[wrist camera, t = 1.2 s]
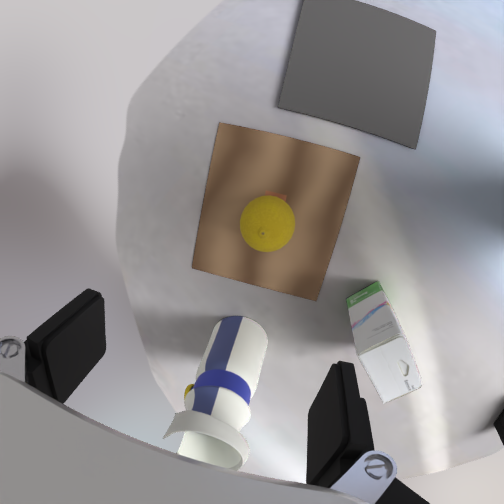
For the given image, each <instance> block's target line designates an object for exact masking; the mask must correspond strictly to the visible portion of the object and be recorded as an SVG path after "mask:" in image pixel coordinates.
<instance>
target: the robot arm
mask: <svg viewBox="0 0 504 504" xmlns="http://www.w3.org/2000/svg"><path fill="white" fill-rule="evenodd" d="M105 351H106V336H105V311H104V298H103V297H102V295H101V293H100V292H97V291H94V290H91V289H86V290H85V291H83V292H82V293H81V294H80V295H78V296H77V297H76V298H74V299H73V300H72V301H71V302H69V303H68V304H67V305H65V306H64V307H63V308H62V309H60V310H59V311H58V312H57V313H55V314H54V315H53V316H52V317H51V318H49V319H48V320H47V321H46V322H44V323H43V324H42V325H41V326H39V327H38V328H37V329H36V330H35V331H33V332H32V333H31V334H30V335H29V336H27V340H26V341H25V342H23V341H22V340H21V339H19V338H17V337H15V336H6V337H3V338H0V504H430V503H429V502H427V501H426V500H424V499H423V498H421V497H420V496H419V495H418V494H416V493H415V492H414V491H412V490H411V489H410V488H408V487H407V486H406V485H405V484H403V483H402V482H401V481H399V480H398V479H397V478H395V476H396V474H397V466H396V463H395V461H394V460H393V458H392V457H390V456H389V455H388V454H386V453H384V452H381V451H375V450H374V444H373V438H372V432H371V426H370V421H369V415H368V410H367V405H366V401H365V399H364V398H360V394H359V389H358V383H357V378H356V373H355V368H354V364H353V363H348V362H343V361H338V363H337V364H332V366H331V368H330V370H329V372H328V374H327V376H326V378H325V380H324V382H323V384H322V386H321V388H320V390H319V392H318V394H317V396H316V398H315V400H314V402H313V403H312V405H311V407H310V409H309V413H308V441H307V474H306V483H307V484H303V483H298V482H291V481H285V480H280V479H274V478H269V477H264V476H259V475H254V474H249V473H245V472H240V471H236V470H232V469H228V468H224V467H220V466H216V465H212V464H209V463H205V462H202V461H198V460H195V459H192V458H189V457H185V456H182V455H179V454H176V453H173V452H170V451H167V450H164V449H162V448H159V447H156V446H153V445H151V444H148V443H146V442H143V441H140V440H138V439H135V438H133V437H130V436H128V435H126V434H123V433H121V432H119V431H117V430H114V429H112V428H110V427H108V426H105V425H103V424H101V423H99V422H97V421H95V420H93V419H90V418H89V417H87V416H85V415H83V414H81V413H79V412H77V411H75V410H73V409H71V408H69V407H67V406H66V405H64V404H63V403H64V402H65V401H66V400H67V399H68V398H69V396H70V395H71V394H72V393H73V391H74V390H75V389H76V388H77V387H78V385H79V384H80V383H81V382H82V381H83V379H84V378H85V377H86V376H87V374H88V373H89V372H90V371H91V370H92V369H93V367H94V366H95V365H96V364H97V363H98V361H99V360H100V359H101V358H102V357H103V355H104V354H105Z"/></svg>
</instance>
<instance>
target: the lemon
mask: <svg viewBox="0 0 504 504" xmlns="http://www.w3.org/2000/svg"><path fill="white" fill-rule="evenodd" d="M240 230H241V234H242V237H243V238H244V240H245V242H246V243H247V244H248V245H249V246H250V247H252V248H254V249H255V250H258V251H261V252H272V251H276V250H278V249H281V248H282V247H283V246H285V245H286V244H287V243H288V242H289V240H290V239H291V237H292V235H293V233H294V230H295V217H294V214H293V211H292V209H291V208H290V206H289V205H288V204H287V203H286V202H285V201H284V200H282V199H280V198H278V197H275V196H270V195H268V196H261V197H258V198H255V199H254V200H252V201H251V202H250V203H249V204H248V205H247V206H246V207H245V208H244V210H243V212H242V214H241V219H240Z"/></svg>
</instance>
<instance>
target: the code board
mask: <svg viewBox="0 0 504 504" xmlns="http://www.w3.org/2000/svg"><path fill="white" fill-rule="evenodd" d="M359 160H360V157H358V156H355V155H352V154H348V153H345V152H342V151H338V150H335V149H331V148H328V147H324V146H321V145H317V144H313V143H310V142H306V141H302V140H298V139H294V138H290V137H286V136H282V135H278V134H273V133H269V132H264V131H260V130H255V129H251V128H246V127H241V126H236V125H230V124H225V123H219V127H218V131H217V136H216V141H215V145H214V150H213V155H212V160H211V165H210V169H209V174H208V179H207V185H206V190H205V195H204V200H203V206H202V211H201V217H200V222H199V228H198V234H197V239H196V245H195V251H194V258H193V264H192V268H194V269H197V270H201V271H204V272H208V273H211V274H215V275H219V276H222V277H226V278H230V279H233V280H237V281H241V282H244V283H248V284H252V285H256V286H259V287H263V288H267V289H271V290H275V291H278V292H282V293H286V294H290V295H294V296H298V297H302V298H306V299H310V300H314V301H316V300H317V297H318V294H319V291H320V288H321V286H322V283H323V280H324V277H325V274H326V271H327V268H328V265H329V262H330V259H331V256H332V253H333V249H334V246H335V243H336V240H337V237H338V234H339V230H340V227H341V224H342V220H343V217H344V214H345V210H346V207H347V203H348V200H349V196H350V193H351V189H352V186H353V182H354V179H355V175H356V171H357V167H358V164H359ZM268 195H270V196H275V197H278V198H280V199H282V200H284V201H285V202H286V203H287V204H288V205H289V206H290V208H291V209H292V211H293V214H294V217H295V230H294V233H293V235H292V237H291V239H290V240H289V242H288V243H287V244H286V245H285V246H283V247H282V248H281V249H278V250H276V251H272V252H261V251H258V250H255V249H254V248H252V247H250V246H249V245H248V244H247V243H246V242H245V240H244V238H243V237H242V234H241V230H240V219H241V214H242V212H243V210H244V208H245V207H246V206H247V205H248V204H249V203H250V202H251V201H252V200H254V199H255V198H258V197H261V196H268Z"/></svg>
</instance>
